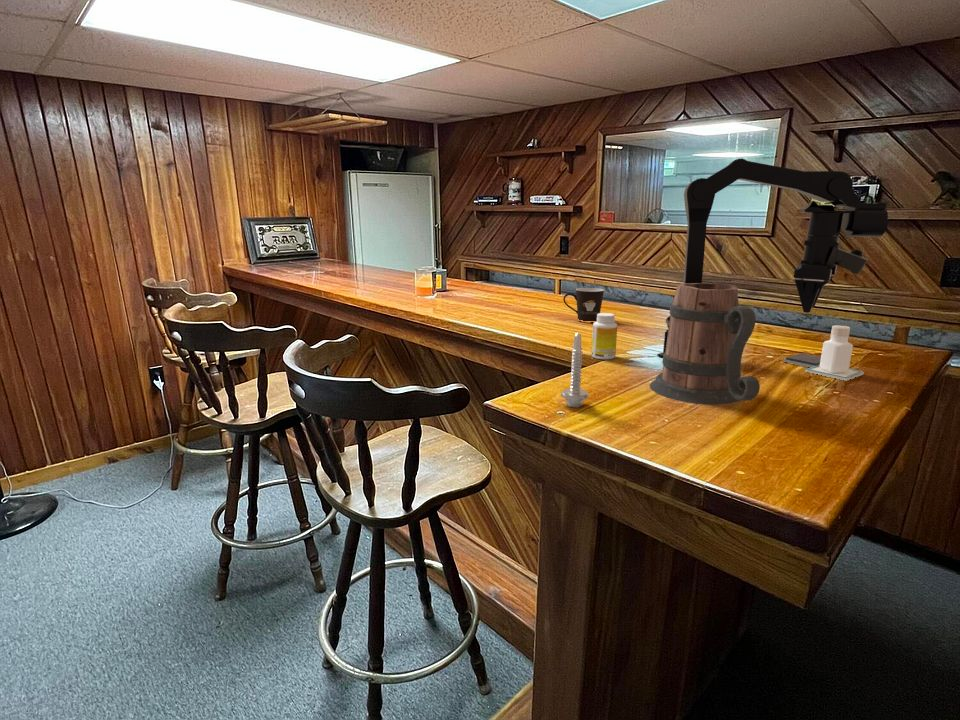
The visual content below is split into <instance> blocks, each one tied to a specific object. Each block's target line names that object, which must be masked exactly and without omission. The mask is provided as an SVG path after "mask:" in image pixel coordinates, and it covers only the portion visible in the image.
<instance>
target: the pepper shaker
mask: <svg viewBox="0 0 960 720" xmlns="http://www.w3.org/2000/svg"><path fill="white" fill-rule="evenodd" d="M850 331H851V327H850V326H848V325H832V326H831V332H830V337H829V338H830V339H828V340H825V341H824V342H823V343H822V350H821V355H820V357H821V360H820V369H822V370H825V371H828V372H831V373H845V372H848V370H849V369H850V364H851V359H852V353H853V347H854V345H853V344H852V343H851V342H849V341H848V340H849V337H850Z"/></svg>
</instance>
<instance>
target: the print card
mask: <svg viewBox="0 0 960 720" xmlns="http://www.w3.org/2000/svg"><path fill="white" fill-rule="evenodd" d="M804 371H805V372H804V373H807V372H810V373H809V374H812V373H814V374H813V375H816V374H818V375H817V376H821V375H822V377H825V376H826V377H827V378H830V377H831V379H834V378H836V379H835V380H839V379H840V380H839V381H843V380H844V382H847V381H851V380H853V379H856V378H858V377H860V376H863V375H864V373H865V372H864V371H863V370H860V369H859V370H858V369H852V368H849V370H848V372H845V373H831V372H828V371H825V370H822V369H820V366H818V367H817V366H813V367H810V368H807V367H806V368H805V369H804ZM855 377H856V378H855ZM850 379H851V380H850Z"/></svg>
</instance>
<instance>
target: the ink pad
mask: <svg viewBox="0 0 960 720" xmlns="http://www.w3.org/2000/svg"><path fill="white" fill-rule="evenodd" d="M820 360H821V355H815V354H809V353H804V352H800V353H797V354H793V355H790V356H786V358H783V359H782V363H783V362H788V363H793V364H796V365H795V366H797V365H800V366H799V367H802V366H805V367H804V368H807V367H813V366H817V367H818V366H820ZM788 363H787V364H788Z"/></svg>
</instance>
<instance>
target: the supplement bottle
mask: <svg viewBox="0 0 960 720" xmlns="http://www.w3.org/2000/svg"><path fill="white" fill-rule="evenodd" d="M591 336H592V337H591V338H592V339H591V356H592V357H593V358H595V359H597V360H606V361H607V360H612V359H615V358H616V353H617V341H618V340H617V337H618V323H616V322H615V314H614V313H611V312H609V313H608V312H600V313H599V314H597V321H596V322H594V323H592V335H591Z"/></svg>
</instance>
